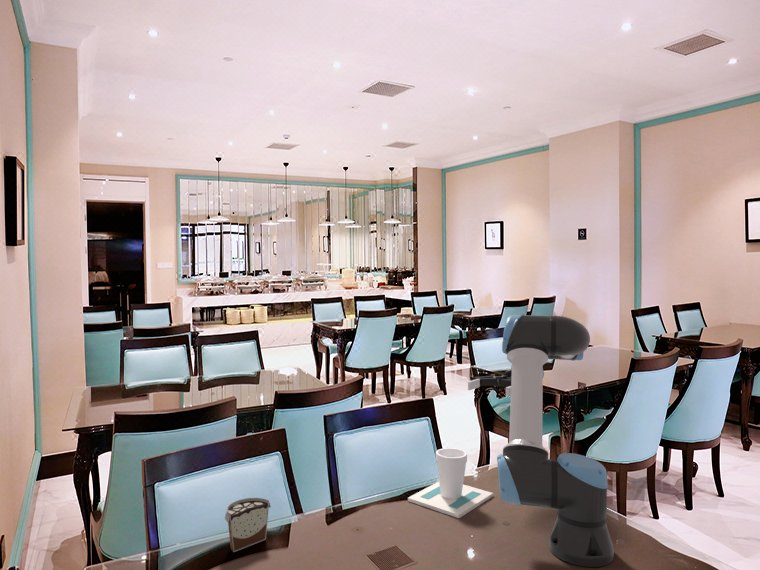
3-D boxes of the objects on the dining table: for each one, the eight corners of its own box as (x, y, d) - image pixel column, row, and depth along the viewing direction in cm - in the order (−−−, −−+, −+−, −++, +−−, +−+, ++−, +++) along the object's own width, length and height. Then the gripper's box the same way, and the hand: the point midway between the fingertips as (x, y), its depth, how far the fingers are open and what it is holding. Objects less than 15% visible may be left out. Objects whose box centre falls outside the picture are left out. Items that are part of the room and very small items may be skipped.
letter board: (492, 496, 173) (493, 492, 173) (458, 518, 157) (458, 514, 157) (444, 481, 184) (444, 478, 184) (407, 500, 169) (407, 497, 169)
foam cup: (468, 501, 166) (468, 458, 166) (437, 501, 166) (437, 458, 166) (463, 488, 175) (464, 448, 175) (434, 488, 176) (434, 447, 175)
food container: (257, 529, 150) (258, 492, 149) (270, 537, 145) (270, 499, 145) (215, 545, 141) (215, 506, 141) (228, 554, 137) (228, 514, 136)
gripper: (551, 395, 187) (523, 407, 171) (485, 384, 203) (454, 394, 187) (551, 372, 187) (523, 382, 170) (485, 364, 203) (454, 372, 186)
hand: (487, 389), depth 178 cm, fingers open, 13 cm apart
